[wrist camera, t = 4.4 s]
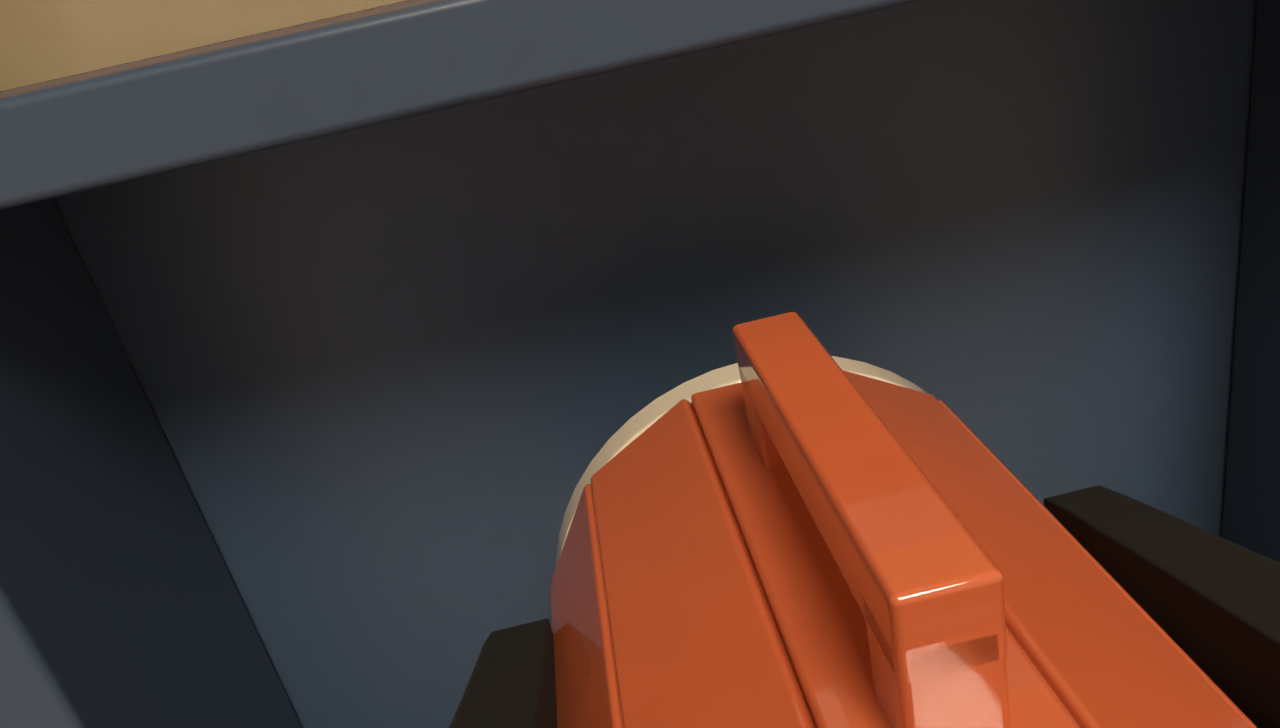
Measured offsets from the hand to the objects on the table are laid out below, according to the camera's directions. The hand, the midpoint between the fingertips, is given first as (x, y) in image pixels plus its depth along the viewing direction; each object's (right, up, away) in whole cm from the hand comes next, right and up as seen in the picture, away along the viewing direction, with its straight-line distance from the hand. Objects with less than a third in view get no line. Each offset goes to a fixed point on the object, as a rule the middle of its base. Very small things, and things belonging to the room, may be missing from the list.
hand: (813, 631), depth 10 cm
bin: (-1, +2, +4) cm, 5 cm away
